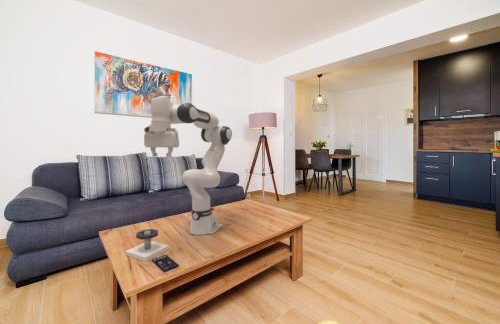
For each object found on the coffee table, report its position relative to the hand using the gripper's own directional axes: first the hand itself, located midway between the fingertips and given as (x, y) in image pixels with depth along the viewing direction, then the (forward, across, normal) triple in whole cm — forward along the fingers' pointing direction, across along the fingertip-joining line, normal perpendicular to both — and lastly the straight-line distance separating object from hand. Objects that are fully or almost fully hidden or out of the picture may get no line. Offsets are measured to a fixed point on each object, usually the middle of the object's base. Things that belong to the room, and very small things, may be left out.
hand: (161, 156), depth 109 cm
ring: (+38, +6, +4) cm, 39 cm away
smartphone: (+48, -10, +8) cm, 50 cm away
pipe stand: (+48, +6, +4) cm, 48 cm away
